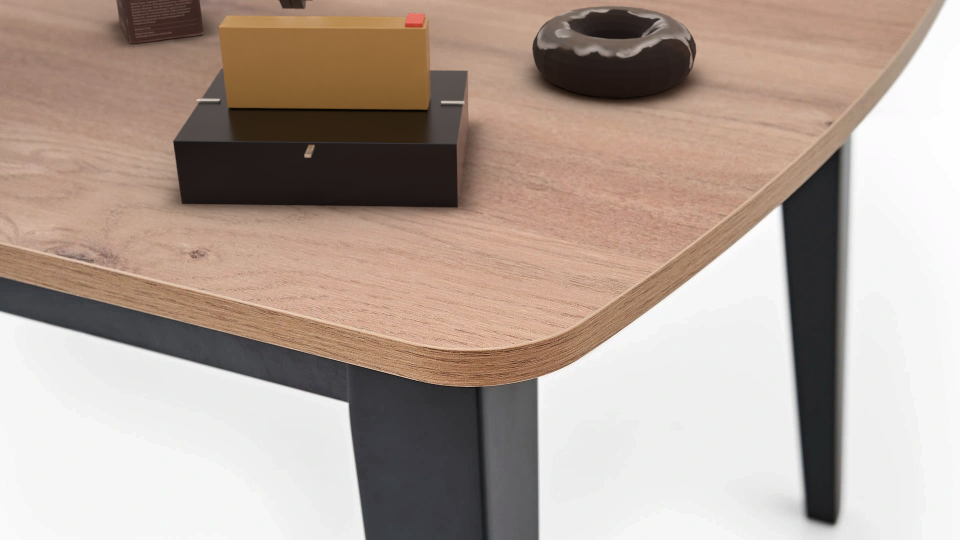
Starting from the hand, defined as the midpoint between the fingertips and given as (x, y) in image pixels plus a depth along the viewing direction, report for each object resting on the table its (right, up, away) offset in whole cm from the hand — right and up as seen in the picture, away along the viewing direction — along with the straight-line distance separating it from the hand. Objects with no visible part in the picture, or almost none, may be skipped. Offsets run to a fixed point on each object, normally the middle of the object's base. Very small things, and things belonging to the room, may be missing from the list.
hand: (290, 3), depth 78 cm
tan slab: (+3, -7, -5) cm, 10 cm away
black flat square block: (+3, -11, -3) cm, 12 cm away
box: (-14, +2, +20) cm, 24 cm away
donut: (+22, -3, +10) cm, 24 cm away
